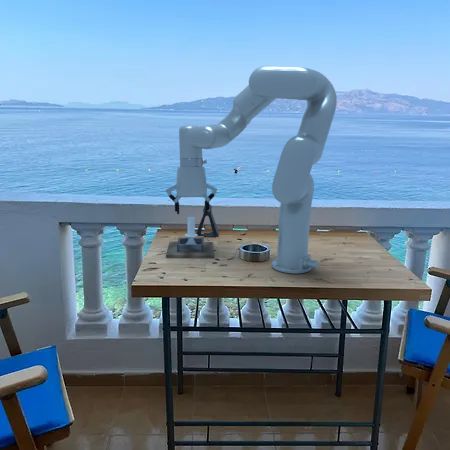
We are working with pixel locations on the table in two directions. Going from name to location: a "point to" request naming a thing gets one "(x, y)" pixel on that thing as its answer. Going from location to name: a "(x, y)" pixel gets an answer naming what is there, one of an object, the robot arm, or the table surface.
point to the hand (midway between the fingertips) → (192, 213)
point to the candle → (191, 230)
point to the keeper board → (190, 249)
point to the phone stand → (212, 222)
